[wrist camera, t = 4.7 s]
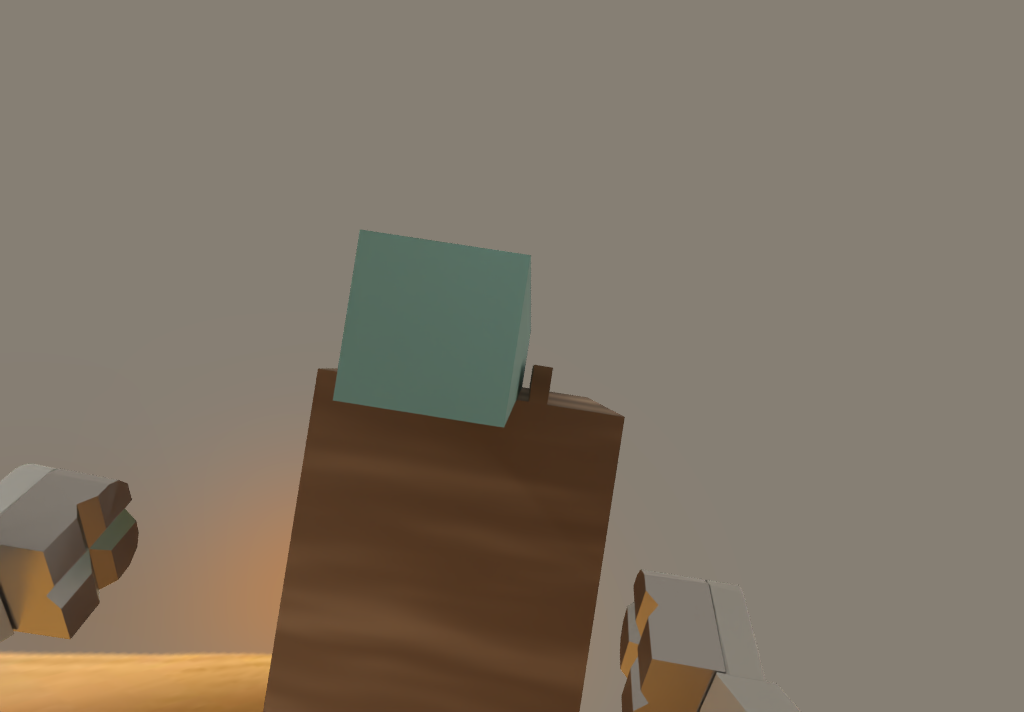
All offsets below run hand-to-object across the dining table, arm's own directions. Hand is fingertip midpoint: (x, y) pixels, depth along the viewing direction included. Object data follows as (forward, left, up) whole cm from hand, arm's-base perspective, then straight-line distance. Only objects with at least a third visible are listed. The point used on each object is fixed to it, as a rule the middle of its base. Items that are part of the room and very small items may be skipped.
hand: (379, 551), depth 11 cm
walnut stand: (-13, +13, -24) cm, 30 cm away
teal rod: (-9, +9, +2) cm, 13 cm away
